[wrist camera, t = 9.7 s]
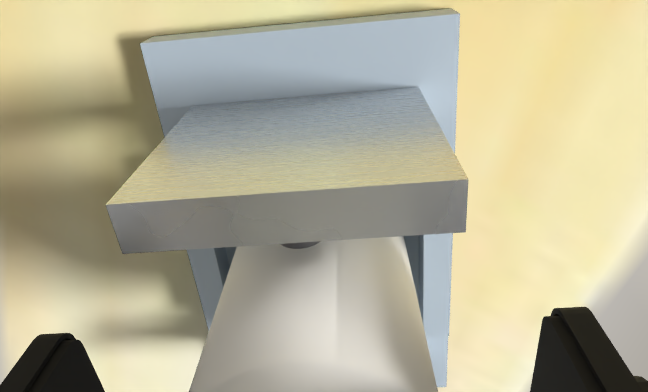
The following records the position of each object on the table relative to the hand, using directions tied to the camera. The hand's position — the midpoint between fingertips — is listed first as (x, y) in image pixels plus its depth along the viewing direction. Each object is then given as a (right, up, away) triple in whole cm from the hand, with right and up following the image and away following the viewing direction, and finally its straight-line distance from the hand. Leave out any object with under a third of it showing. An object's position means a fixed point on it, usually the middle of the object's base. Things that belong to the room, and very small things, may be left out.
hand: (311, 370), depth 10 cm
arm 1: (0, +6, +3) cm, 7 cm away
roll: (0, +2, +5) cm, 5 cm away
